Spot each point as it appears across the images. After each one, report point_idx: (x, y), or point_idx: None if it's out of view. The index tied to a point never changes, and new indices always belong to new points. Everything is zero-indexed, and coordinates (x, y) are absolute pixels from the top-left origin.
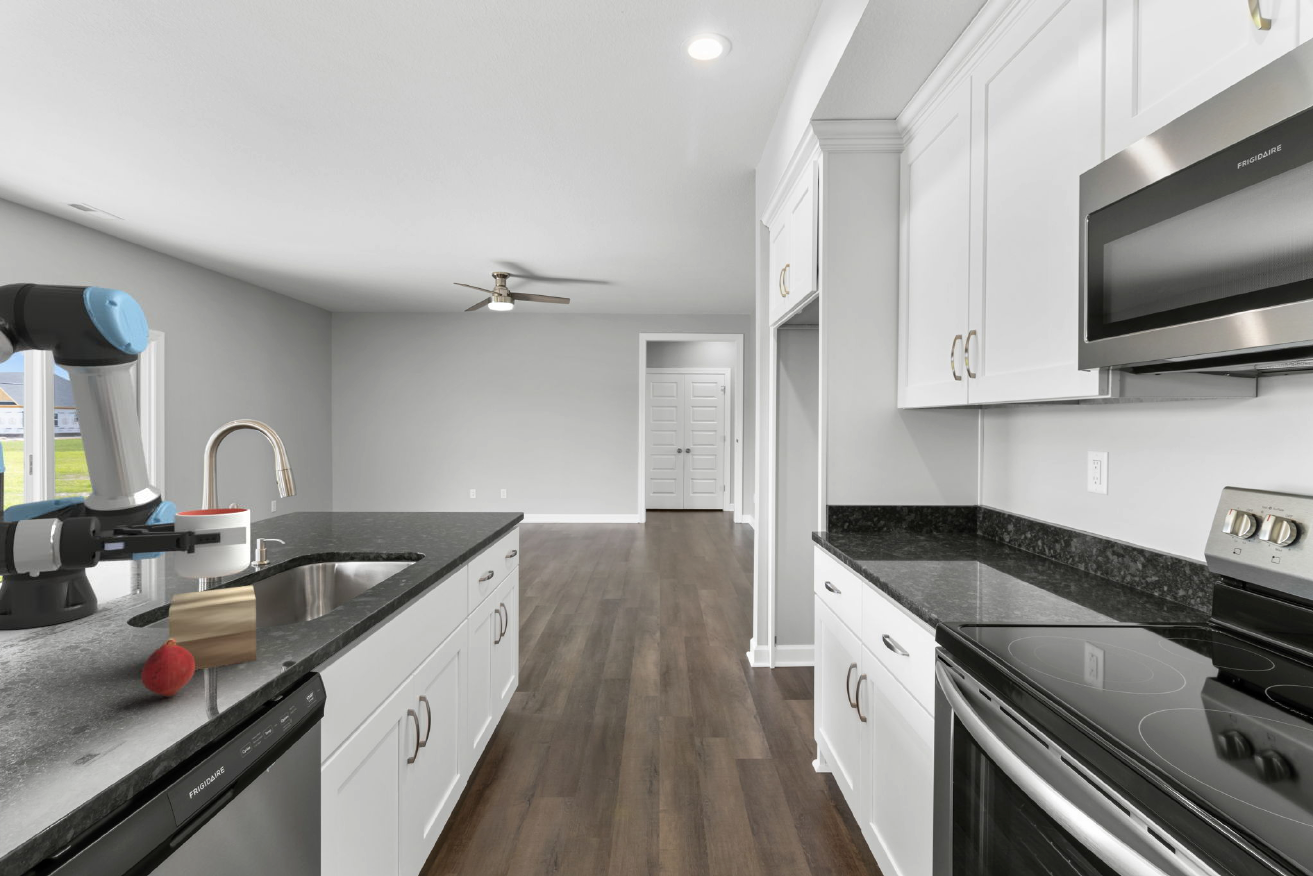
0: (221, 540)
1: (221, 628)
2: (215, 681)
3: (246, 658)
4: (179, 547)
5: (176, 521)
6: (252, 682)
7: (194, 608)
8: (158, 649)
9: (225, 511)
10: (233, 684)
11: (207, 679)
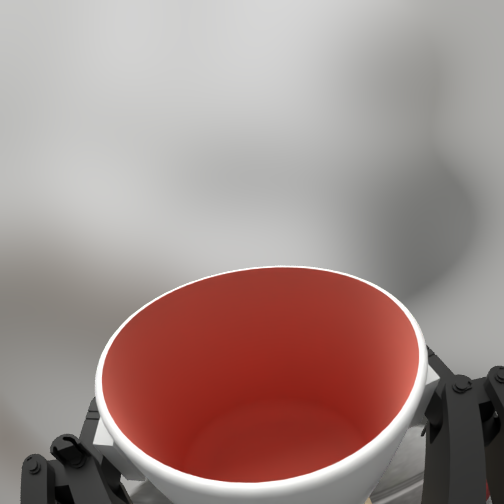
0: None
1: None
2: (404, 482)
3: None
4: (488, 418)
5: (370, 470)
6: (415, 440)
7: (369, 501)
8: (486, 484)
9: (129, 335)
10: (418, 457)
11: (393, 496)
